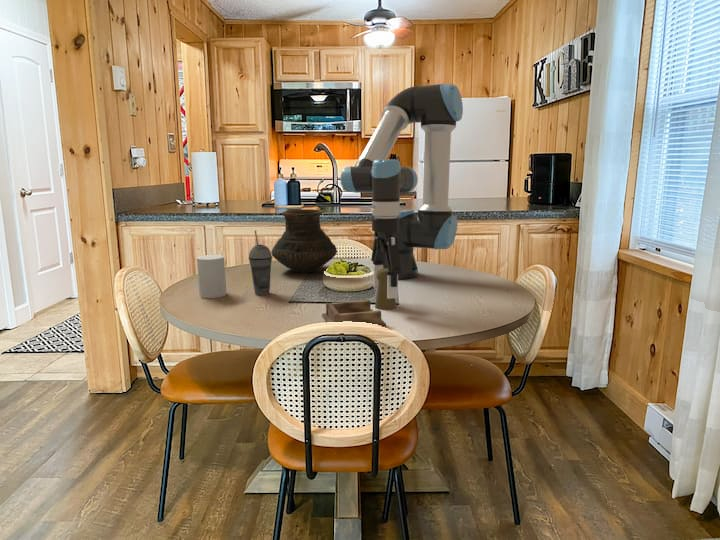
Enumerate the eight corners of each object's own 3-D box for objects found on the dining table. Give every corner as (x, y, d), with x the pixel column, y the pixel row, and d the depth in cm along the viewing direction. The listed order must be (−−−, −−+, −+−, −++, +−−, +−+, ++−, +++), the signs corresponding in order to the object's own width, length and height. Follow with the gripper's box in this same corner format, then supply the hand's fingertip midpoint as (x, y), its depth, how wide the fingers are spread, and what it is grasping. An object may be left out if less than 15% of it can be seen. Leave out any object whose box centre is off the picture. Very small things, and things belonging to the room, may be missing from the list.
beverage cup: (268, 296, 157) (265, 232, 153) (246, 295, 159) (242, 231, 154) (277, 291, 164) (274, 229, 160) (255, 290, 166) (252, 228, 161)
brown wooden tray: (372, 311, 141) (371, 298, 140) (385, 325, 129) (385, 312, 128) (321, 315, 138) (321, 302, 137) (331, 331, 125) (330, 316, 125)
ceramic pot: (284, 263, 208) (282, 207, 203) (342, 264, 204) (341, 208, 199) (263, 276, 184) (260, 214, 180) (328, 278, 180) (327, 215, 176)
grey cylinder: (231, 292, 163) (229, 255, 160) (214, 299, 155) (211, 260, 153) (211, 290, 166) (209, 254, 163) (193, 296, 159) (190, 258, 156)
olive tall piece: (373, 304, 148) (373, 267, 146) (394, 303, 149) (394, 266, 146) (376, 310, 142) (376, 271, 140) (397, 309, 143) (398, 270, 141)
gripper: (361, 213, 151) (361, 283, 155) (386, 221, 127) (385, 304, 132) (385, 212, 153) (384, 281, 157) (414, 221, 129) (412, 302, 133)
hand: (385, 292), depth 144 cm, fingers open, 13 cm apart
